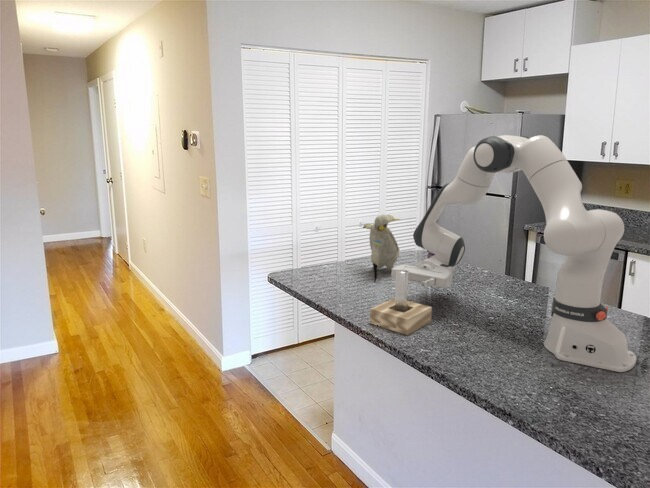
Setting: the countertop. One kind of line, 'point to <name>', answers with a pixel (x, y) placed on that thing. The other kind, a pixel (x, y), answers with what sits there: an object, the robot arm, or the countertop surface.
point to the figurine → (382, 243)
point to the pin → (401, 290)
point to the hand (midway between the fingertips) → (410, 281)
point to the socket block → (400, 316)
